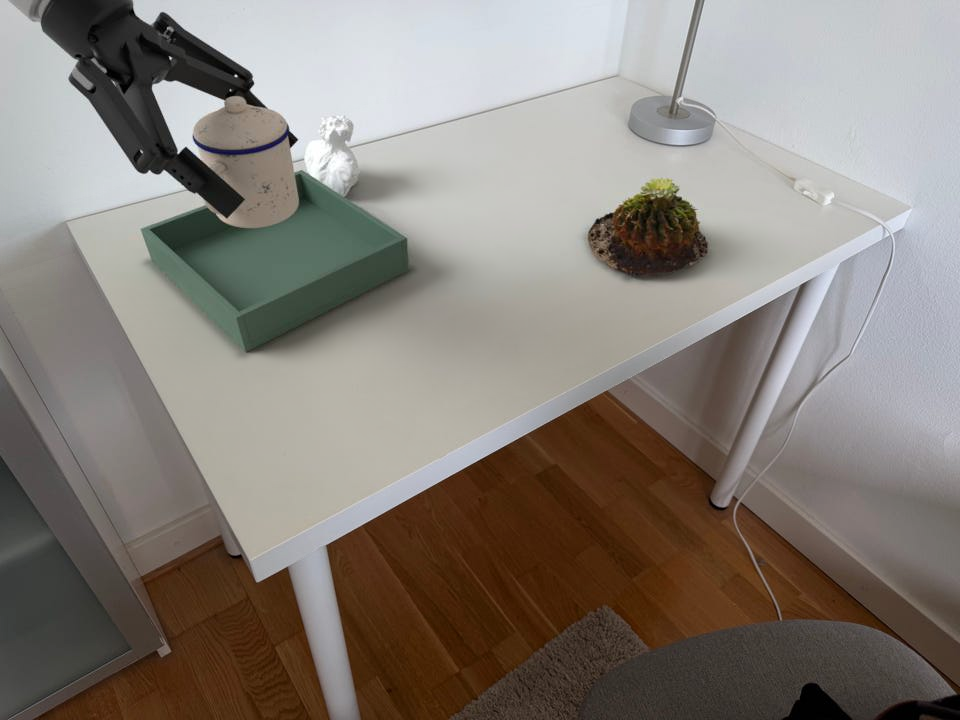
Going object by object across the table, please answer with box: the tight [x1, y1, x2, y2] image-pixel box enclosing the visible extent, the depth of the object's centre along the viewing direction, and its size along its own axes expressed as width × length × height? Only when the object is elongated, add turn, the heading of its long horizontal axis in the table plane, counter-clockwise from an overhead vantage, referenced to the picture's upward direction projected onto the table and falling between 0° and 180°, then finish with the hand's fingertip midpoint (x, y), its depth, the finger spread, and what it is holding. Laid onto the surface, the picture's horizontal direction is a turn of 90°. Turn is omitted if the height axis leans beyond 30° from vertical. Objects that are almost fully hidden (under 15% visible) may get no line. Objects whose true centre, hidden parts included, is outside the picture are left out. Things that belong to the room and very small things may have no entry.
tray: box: [140, 169, 410, 353], centre depth 87 cm, size 24×24×5 cm
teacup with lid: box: [192, 96, 299, 228], centre depth 68 cm, size 12×9×12 cm
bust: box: [304, 114, 361, 197], centre depth 102 cm, size 12×8×11 cm
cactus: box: [587, 177, 709, 277], centre depth 92 cm, size 17×16×10 cm
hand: (265, 177), depth 68 cm, fingers closed on teacup with lid, 12 cm apart
